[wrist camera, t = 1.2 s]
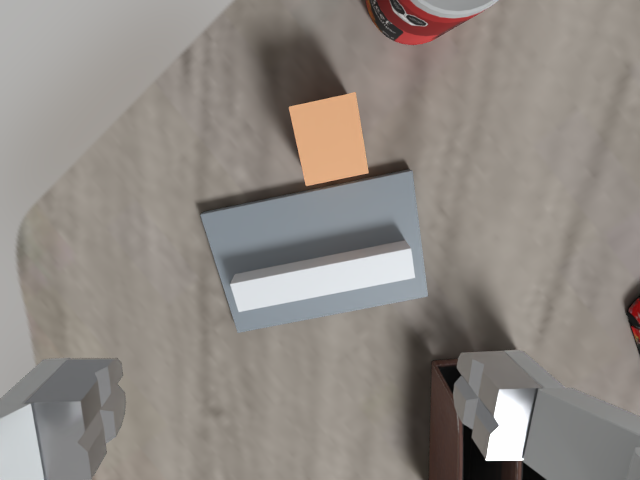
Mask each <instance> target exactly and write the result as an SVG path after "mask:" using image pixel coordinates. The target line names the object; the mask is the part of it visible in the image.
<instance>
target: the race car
mask: <svg viewBox="0 0 640 480" xmlns="http://www.w3.org/2000/svg"><path fill="white" fill-rule="evenodd" d="M628 311H629V312H627V313H626V315H627V316H628V319H629V320H628V321H629V322H630V323H631V324H632V325H633V326H631V328H632V331H633V334H634V337H635V340H636V343H637V346H638V349H639V352H640V297H639V298H638V299H637V300H636V301H635V302H634V303H633V304H632V305H631V307H630V308H629V310H628Z"/></svg>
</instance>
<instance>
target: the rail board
mask: <svg viewBox="0 0 640 480" xmlns="http://www.w3.org/2000/svg"><path fill="white" fill-rule="evenodd" d="M200 216H201V219H202V222H203V225H204V228H205V231H206V234H207V238H208V241H209V244H210V247H211V250H212V253H213V256H214V260H215V263H216V266H217V269H218V272H219V275H220V278H221V282H222V285H223V288H224V291H225V294H226V297H227V300H228V303H229V307H230V310H231V313H232V316H233V319H234V322H235V325H236V329H237V332H238V333H239V332H245V331H250V330H255V329H260V328H265V327H271V326H276V325H281V324H286V323H292V322H297V321H302V320H307V319H312V318H318V317H323V316H328V315H333V314H339V313H344V312H349V311H354V310H360V309H365V308H370V307H375V306H380V305H386V304H391V303H396V302H401V301H407V300H412V299H417V298H422V297H427V296H428V292H427V284H426V276H425V268H424V260H423V252H422V244H421V236H420V228H419V220H418V212H417V204H416V196H415V188H414V180H413V172H412V170H410V169H408V170H404V171H399V172H394V173H389V174H384V175H380V176H375V177H370V178H365V179H360V180H355V181H351V182H346V183H341V184H336V185H331V186H326V187H322V188H317V189H312V190H307V191H302V192H297V193H293V194H288V195H283V196H278V197H273V198H268V199H264V200H259V201H254V202H249V203H244V204H240V205H235V206H230V207H225V208H220V209H215V210H211V211H206V212H203V213H202V214H200Z"/></svg>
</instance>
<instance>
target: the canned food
mask: <svg viewBox="0 0 640 480" xmlns="http://www.w3.org/2000/svg"><path fill="white" fill-rule="evenodd" d="M497 1H498V0H366V4H367V8H368V12H369V14H370V16H371V19H372V21H373V22H374V24H375V25H376V27H377V28H378V29H379V30H380V31H381V32H382V33H383V34H384V35H385V36H386V37H388V38H390V39H392V40H393V41H395V42H399V43H402V44H408V45H417V44H423V43H426V42H429V41H432V40H434V39H436V38H437V37H439V36H441V35H443V34H444V33H446V32H448V31H450V30H451V29H453V28H455V27H457V26H458V25H460V24H462V23H464V22H465V21H467V20H469V19H471V18H472V17H474V16H476V15H478V14H479V13H481V12H483V11H484V10H486V9H487V8H489V7H491V6H492V5H493V4H495V3H496V2H497Z"/></svg>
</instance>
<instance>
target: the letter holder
mask: <svg viewBox="0 0 640 480" xmlns="http://www.w3.org/2000/svg"><path fill="white" fill-rule="evenodd" d="M457 362H458V359H447V360H435V361H432V372H431V375H432V376H431V409H430V411H431V412H430V446H429V448H430V450H429V480H547V479H545V478H544V477H543V476H541V475H540V474H539V473H537V472H536V471H535V470H533V469H532V468H531V467H529V466H528V465H527V464H525V463H524V462H523V460H486V459H485V458H484V456H483V455H482V453H481V451H480V450H479V448H478V447H477V445H476V444H475V442H474V441H473V439H472V432H473V430H472V429H471V428H469V427H467V426H466V425H464V424H463V423H462V422H461V420H460V418H459V417H458V415H457V412H456V409H455V406H454V399H453V391H454V383H455V382H456V381H457V380H458V379H459V377H460V376H461V374H460V372H459V371H458V369H457Z"/></svg>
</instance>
